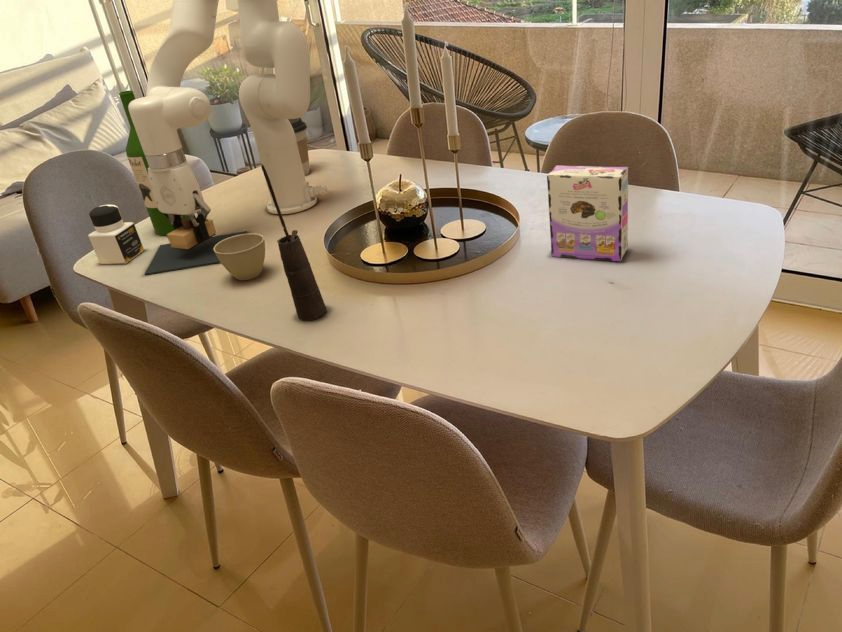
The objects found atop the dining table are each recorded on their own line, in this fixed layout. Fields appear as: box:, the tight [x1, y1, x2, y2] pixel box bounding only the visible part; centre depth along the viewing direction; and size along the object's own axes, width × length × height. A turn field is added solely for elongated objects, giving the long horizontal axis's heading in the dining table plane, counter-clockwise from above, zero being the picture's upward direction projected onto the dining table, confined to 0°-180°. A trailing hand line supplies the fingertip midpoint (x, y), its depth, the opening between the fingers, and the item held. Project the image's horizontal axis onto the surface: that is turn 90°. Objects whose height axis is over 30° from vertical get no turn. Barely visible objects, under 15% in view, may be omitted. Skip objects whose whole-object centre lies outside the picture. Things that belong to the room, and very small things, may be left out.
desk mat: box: [144, 230, 248, 276], centre depth 156 cm, size 20×16×1 cm
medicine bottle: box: [87, 204, 145, 265], centre depth 155 cm, size 7×7×12 cm
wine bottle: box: [118, 90, 189, 237], centre depth 163 cm, size 9×9×32 cm
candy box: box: [546, 165, 629, 262], centre depth 129 cm, size 14×6×16 cm, turn 65°
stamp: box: [166, 217, 217, 250], centre depth 153 cm, size 9×5×5 cm, turn 155°
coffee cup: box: [288, 117, 311, 176], centre depth 195 cm, size 11×11×15 cm
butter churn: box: [261, 164, 328, 322], centre depth 118 cm, size 9×10×28 cm
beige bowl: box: [214, 233, 266, 281], centre depth 141 cm, size 10×10×7 cm
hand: (194, 238), depth 154 cm, fingers closed on stamp, 5 cm apart
